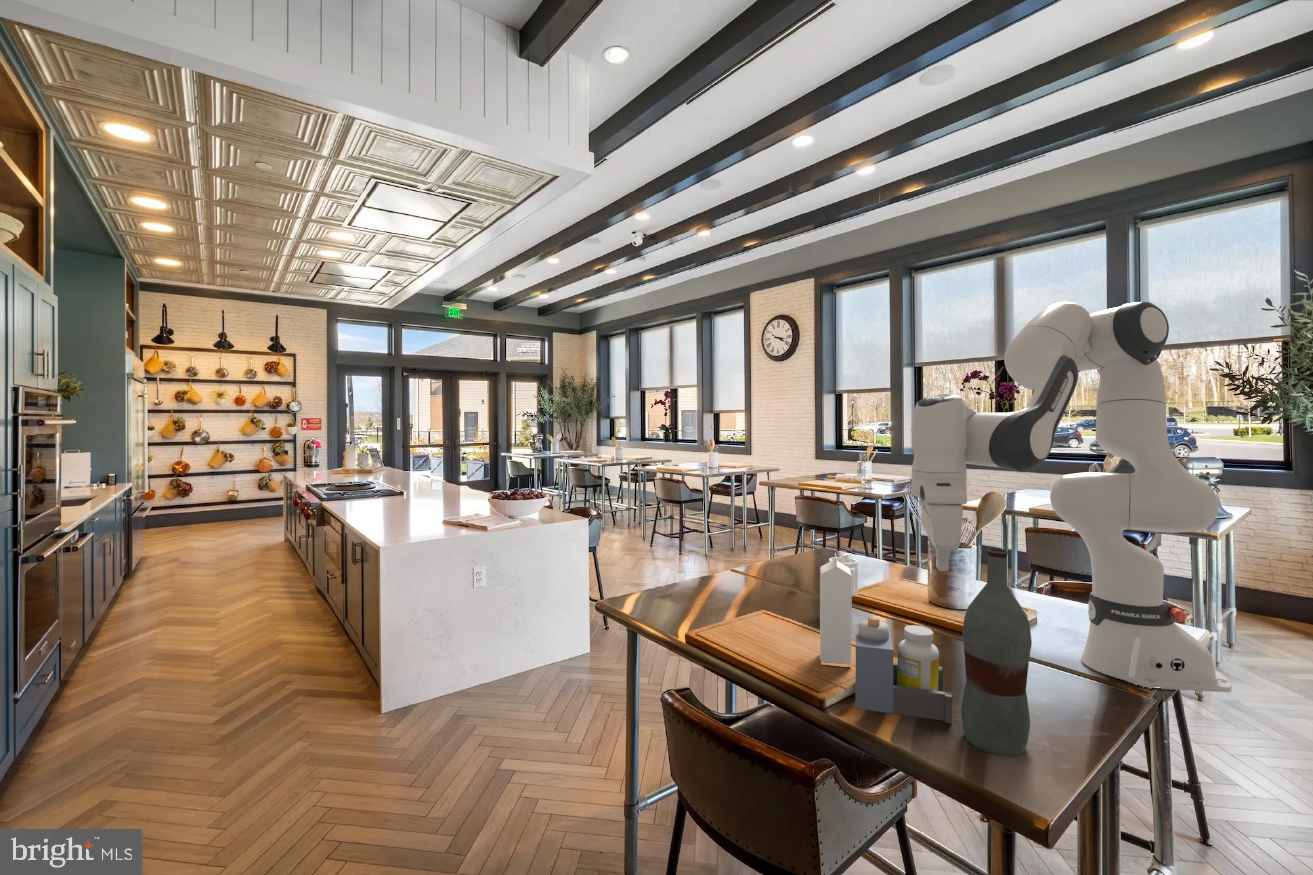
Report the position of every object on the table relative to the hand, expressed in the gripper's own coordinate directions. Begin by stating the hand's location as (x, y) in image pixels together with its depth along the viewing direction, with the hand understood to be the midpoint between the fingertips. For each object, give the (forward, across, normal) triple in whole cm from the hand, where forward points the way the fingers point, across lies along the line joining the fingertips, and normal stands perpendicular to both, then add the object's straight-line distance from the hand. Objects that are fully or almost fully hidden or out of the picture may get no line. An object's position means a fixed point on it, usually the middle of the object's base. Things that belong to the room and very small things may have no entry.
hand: (938, 562), depth 106 cm
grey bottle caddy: (+24, +3, -7) cm, 25 cm away
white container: (+26, -40, -17) cm, 51 cm away
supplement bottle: (+24, +4, -4) cm, 25 cm away
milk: (+25, -9, -18) cm, 32 cm away
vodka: (+24, +15, +6) cm, 29 cm away
